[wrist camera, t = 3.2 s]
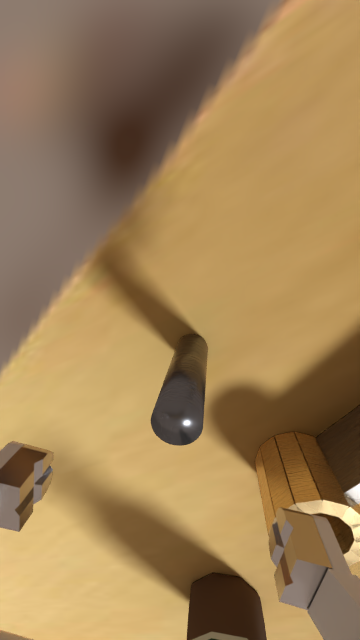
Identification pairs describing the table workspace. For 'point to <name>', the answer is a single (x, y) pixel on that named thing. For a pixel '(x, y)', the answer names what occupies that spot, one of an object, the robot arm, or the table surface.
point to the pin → (182, 394)
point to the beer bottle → (224, 610)
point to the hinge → (316, 478)
